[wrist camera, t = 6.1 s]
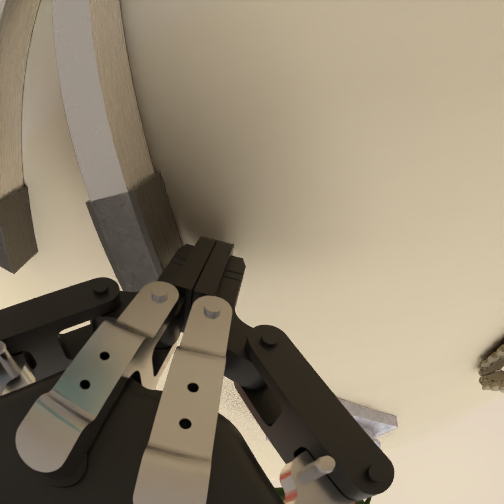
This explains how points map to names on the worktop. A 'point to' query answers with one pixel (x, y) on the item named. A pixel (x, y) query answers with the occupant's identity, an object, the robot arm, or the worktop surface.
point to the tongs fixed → (14, 134)
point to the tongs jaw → (112, 141)
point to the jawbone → (493, 371)
